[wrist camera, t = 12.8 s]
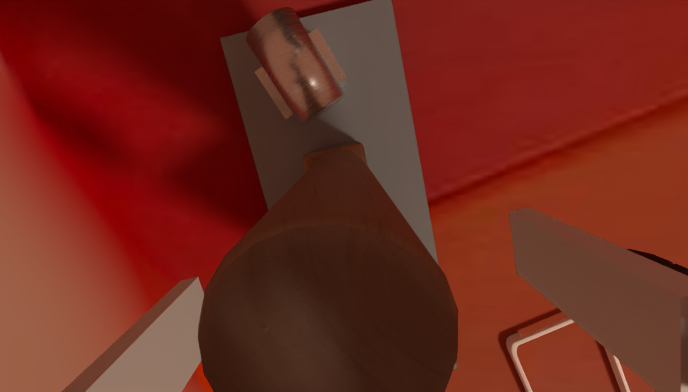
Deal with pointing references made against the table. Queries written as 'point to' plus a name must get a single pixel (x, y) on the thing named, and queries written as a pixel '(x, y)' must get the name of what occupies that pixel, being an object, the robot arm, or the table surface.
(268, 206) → the plate
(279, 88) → the grey block
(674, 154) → the table surface
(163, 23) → the table surface
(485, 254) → the table surface
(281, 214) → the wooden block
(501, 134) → the table surface
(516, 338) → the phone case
